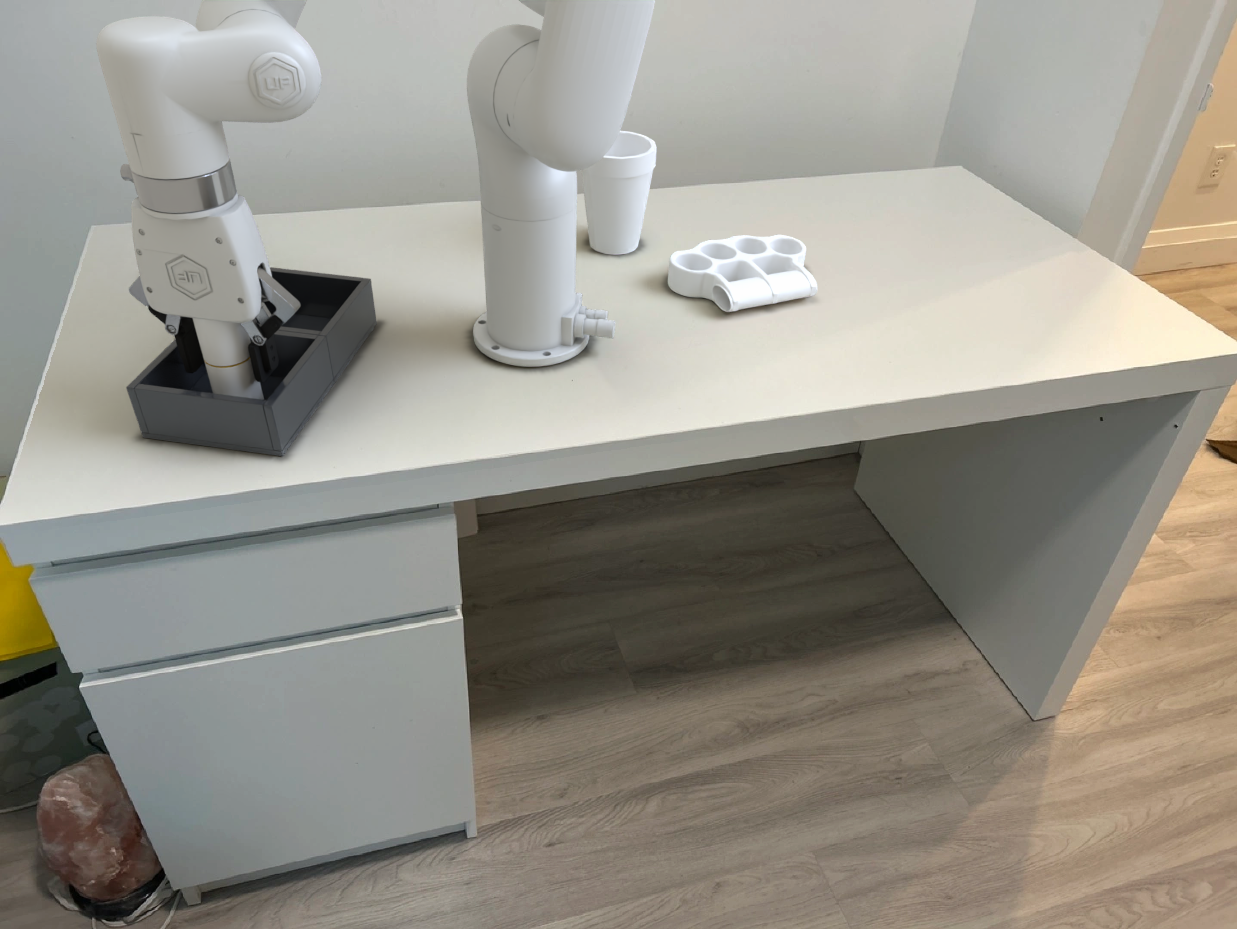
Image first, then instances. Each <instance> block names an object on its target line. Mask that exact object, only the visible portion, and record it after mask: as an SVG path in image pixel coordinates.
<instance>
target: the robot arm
mask: <svg viewBox="0 0 1237 929" xmlns="http://www.w3.org/2000/svg"><path fill="white" fill-rule="evenodd" d="M518 1H519V3H521V4H522V5H524V6H525V7H527V8H528V9H529V10H532V11H533V12H535V13H536V14H537V15H539V16H541V17H542V18H543V19H542V24H541V29H540V28H537V27H535V26H531V25H526V24H518V23H517V24H516V23H515V24H508V25H503V26H500V27H497V28H496V29H494V30H492V31H490V32H489V33H487V34H486V35H485V36H484V37H483V38H482V39H481V40H480V41H479V43H478V44H477V46H476V47H475V49H474V51H473V53H472V55H471V57H470V60H469V63H468V67H467V72H466V96H467V104H468V111H469V116H470V121H471V126H472V132H473V137H474V141H475V148H476V154H477V156H476V157H477V163H478V175H479V190H480V191H479V192H480V214H481V215H480V216H481V233H482V248H483V249H482V252H483V269H484V271H483V272H484V288H485V290H484V291H485V308H486V310H485V312H484V313H482V314H480V316H479V317H478V318H476V320H475V322H474V324H473V328H472V329H473V330H472V335H473V342H474V344H475V346H476V348H477V349H478V350H479V351H480V352H481V353H482V354H483V355H485V356H486V357H488V358H490V359H492V360H494V361H497V362H500V363H502V364H506V365H511V366H515V367H525V368H534V367H535V368H536V367H546V366H547V367H548V366H552V365H556V364H560V363H563V362H566V361H568V360H571V359H573V358H574V357H576V356H577V355H579V354H580V353H581V352H583V350H585V348H586V346H588V343H589V340H590V336H592V337H597V338H602V339H614V337H615V333H616V320H613V319H609V311H608V310H605V309H598V308H596V309H592V308H588V307H587V306H586V305H583V293H582V292H576V291H577V223H578V222H577V221H578V220H577V218H578V217H577V214H578V212H577V211H578V210H577V209H578V205H577V204H578V174H577V172H581V170H584V169H586V168H588V167H590V166H592V165H594V164H595V163H597V162H598V161H599V160H600V159H602V158H603V157H604V155H605V154H606V153H607V152H608V151H609V150H610V148H611V147H612V145H613V144H614V142H615V140H616V138H617V136H618V134H619V132H620V131H622V127H623V124H624V122H625V119H626V115H627V112H628V109H629V105H630V102H631V98H632V96H633V95H632V94H633V91H634V87H635V84H636V79H637V76H638V72H639V68H640V65H641V60H642V57H643V53H644V50H645V47H646V46H645V45H646V42H647V38H648V34H649V30H650V27H651V23H652V20H653V14H654V10H655V5H656V0H518ZM307 2H308V0H201V2H200V4H199V8H198V10H197V16H196V20H195V25H193V24H191V23H190V22H188V21H186V20H185V19H184V20H183V19H180V18H176V17H171V16H165V15H164V16H162V15H145V16H134V17H127V18H123V19H119V20H116V21H113V22H110V23H108V24H107V25H105V26H104V27H103V28H102V29H101V30H100V31H99V32H98V34H97V37H96V43H95V44H96V51H97V56H98V60H99V63H100V67H101V68H100V69H101V70H102V74H103V78H104V82H105V85H106V88H107V92H108V95H109V98H110V102H111V105H112V110H113V113H114V116H115V120H116V123H117V127H118V129H119V130H118V131H119V134H120V137H121V141H122V144H123V149H124V153H125V155H126V158H127V163H123V164H122V165H121V166H120V176H121V178H122V180H124V181H127V182H130V183H133V185H134V189H135V192H136V195H137V197H135V198H133V200H132V201H131V203H130V214H131V216H130V218H131V234H132V242H133V248H134V249H133V250H134V254H135V260H136V264H137V270H138V273H139V274H138V275H139V276H138V277H137V278H136V279H135V281H133V283H132V284H131V285H130V286H129V287H128V291H129V292H128V293H129V294H130V295H131V296H132V297H133V298H135V299H136V300H137V301H138V302H139V303H141V304H142V305H143V306H144V307H147V310H148V311H149V313H150V314H151V315H153V317H155V318H156V319H157V320H159V321H160V322H161V323H162V324H163V325H164V329H165V331H166V333H168V334H169V335H170V336H174V340H176V344H177V347H178V351H179V354H180V357H181V359H182V361H183V364H184V367H185V371H186V372H187V373H194V372H196V371H197V370H198V369H199V368H200V367H201V365H202V364H203V363H204V358H203V354H202V351H201V347H200V344H199V340H198V336H197V333H196V329H195V325H194V322H193V318H198V319H206V320H214V321H223V322H232V323H241V324H242V326H243V327H244V329H245V330H246V332H247V333H248V335H249V337H250V338H251V340H252V342H251V343H250V344H249V345H248V351H249V355H250V360H251V364H252V368H253V372H254V377H255V380H257V382H265V380H266V379H267V378H268V377H269V376H270V374H271V373H272V372H273V371H274V370H275V369H276V368H277V366H278V362H279V360H278V354H277V350H276V345H275V340H274V336H273V334H274V333H276V332H277V331H278V330H279V329H280V327H281V326H282V325H283V324H284V323H286V322H287V321H288V320H289V319H290V318H291V317H292V316H293V315H294V314H295V312H296V311H297V310H298V309H299V308H300V305H301V304H300V302H299V301H298V300H297V299H296V298H295V297H294V296H293V295H291V294H290V293H289V292H288V291H287V290H286V289H285V288H284V287H282V286H281V285H280V284H279V283H278V282H277V281H276V280H275V279H273V278H272V274H271V270H270V267H271V266H270V263H269V258H268V255H267V252H266V248H265V245H264V242H263V239H262V235H261V232H260V230H259V228H258V224H257V222H256V219H255V217H254V215H253V212H252V210H251V208H250V206H249V204H248V202H247V199H246V197H245V196H244V195H241V194H238V190H237V185H236V180H235V177H234V172H233V166H232V162H231V157H230V153H229V149H228V142H227V140H226V134H225V129H224V125H223V122H229V123H230V122H231V123H233V122H234V123H254V124H255V123H257V124H258V123H259V124H267V123H268V124H273V123H274V124H275V123H282V122H287V121H291V120H294V119H296V118H298V117H301V116H302V115H303V114H305V113H307V111H309V110H310V109H311V108H312V107H313V105H314V104H315V103H316V101H317V99H318V97H319V95H320V92H321V87H322V78H323V77H322V71H321V70H322V69H321V65H320V62H319V59H318V57H317V55H316V53H315V51H314V49H313V48H312V46H311V45H310V43H308V41H307V40H306V39H305V38H304V37H303V35H301V33H300V32H298V31H297V30H296V27H297V24H298V22H299V20H300V18H301V15H302V13H303V11H304V9H305V6H306V4H307ZM266 301H270V302H271V303H272V304H274V305H275V307H276V311H275V312H274V313H273V314H272V315H271V313H270V312H269V310H268V309H267V307H266V305H265V304H264V302H266ZM255 317H256V318H257V319H258V321H259V323H260V324H261V326H260V325H259V324H258V322H257V321H256V319H255Z"/></svg>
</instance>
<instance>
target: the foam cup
mask: <svg viewBox="0 0 1237 929" xmlns="http://www.w3.org/2000/svg"><path fill="white" fill-rule="evenodd" d="M656 144H657V143H656V141H655V140H654V139H652V138H651V137H649V136H647V135H645V134H641V133H638V132H635V131H627V130H620V132H619V134H618V136H617V138H616V140H615V142H614V144H613V145H612V147H611V148H610V150H609V151H608V152H607V153H606V154H605V155H604V157H603V158H602V159H600V160H599V161H598V162H597V163H595V164H594V165H592V166H590V167H588V168H586V169H584V170H580V172H581V181H582V189H583V198H584V207H585V215H586V225H587V232H588V240H589V246H590V248H592V250H594V251H595V252H598V253H601V254H604V255H613V256H619V255H627V254H630V253H632V252H634V251H636V249H637V248H638V247H639V242H640V239H641V234H642V229H643V225H644V219H645V214H646V209H647V205H648V198H649V193H650V188H651V183H652V178H653V173H654V169H655V168H656V164H657V148H658V147H657V145H656Z"/></svg>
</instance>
